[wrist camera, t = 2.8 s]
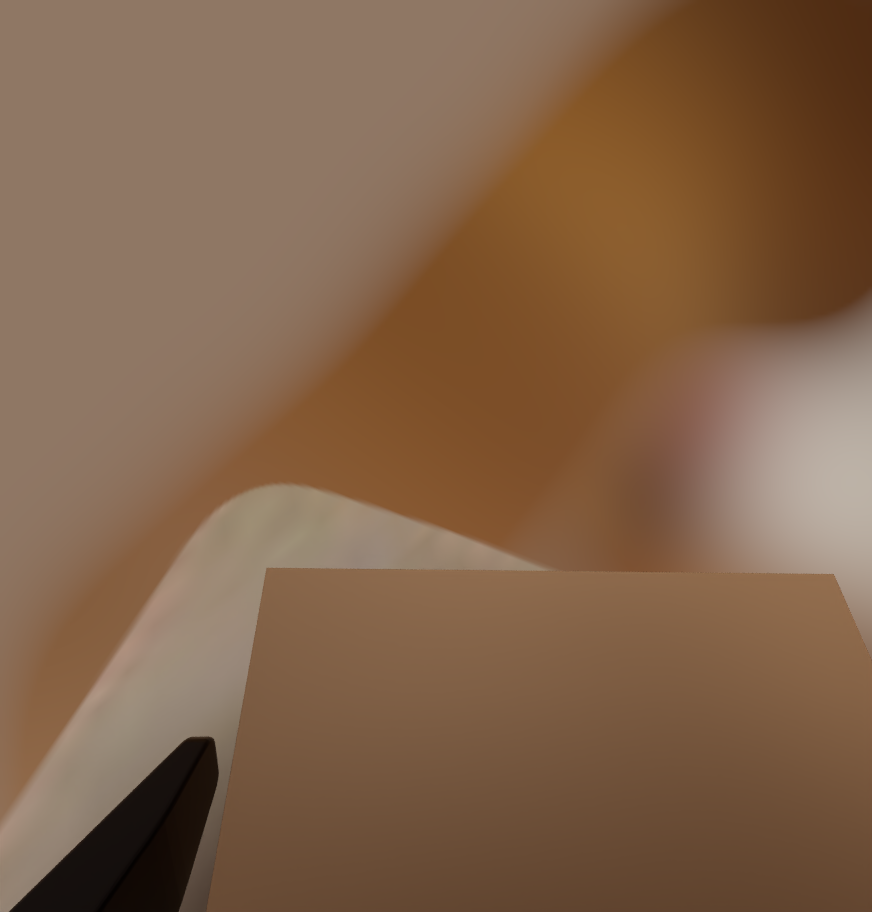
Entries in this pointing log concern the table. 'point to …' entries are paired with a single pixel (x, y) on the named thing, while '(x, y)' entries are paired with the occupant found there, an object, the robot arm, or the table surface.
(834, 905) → the walnut pillar
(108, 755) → the table surface
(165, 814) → the robot arm
